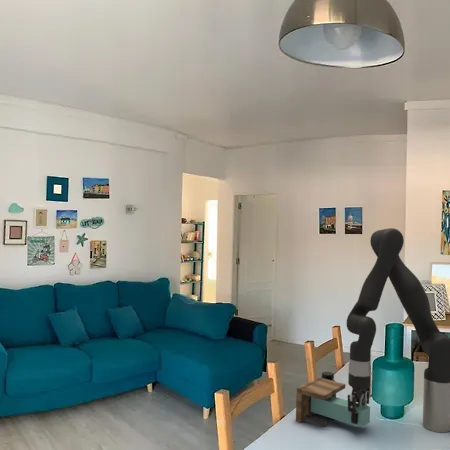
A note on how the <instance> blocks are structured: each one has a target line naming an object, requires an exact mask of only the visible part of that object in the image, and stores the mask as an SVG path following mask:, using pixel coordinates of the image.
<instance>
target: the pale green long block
mask: <svg viewBox="0 0 450 450" xmlns="http://www.w3.org/2000/svg"><path fill="white" fill-rule="evenodd" d="M356 403H357V404H358V402H356ZM356 407H357V406H356ZM311 412H313V413H316V414H317V415H320V416H323V417H326V418H330V419H333V420H336V421H340V422H343V423H346V424H350V425H353V426H356V427H359V428H364V427H365V426H367V425H368V424H369V423H370V422H371V406H368V405H367V406H366V405H362V404H361V407H359V411H358V423H357V424H354V423H352V422H351V412H349V411H348V399H344V398H340V397H337V396H336V397H333V396H331V397H329V398H327V399H325V400H322V399H318V398H315V397H311ZM316 414H315V415H316Z"/></svg>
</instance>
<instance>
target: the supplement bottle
mask: <svg viewBox="0 0 450 450" xmlns="http://www.w3.org/2000/svg"><path fill="white" fill-rule="evenodd" d="M321 378H323V379H327V380H331V381H335V382H337V381H336V380H335V373H334V372H331V371H322V372H321ZM332 396H333V397H337V393H336V394H334V395H332Z"/></svg>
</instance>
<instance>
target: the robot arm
mask: <svg viewBox="0 0 450 450" xmlns="http://www.w3.org/2000/svg"><path fill="white" fill-rule="evenodd" d="M404 241H405V240H404V236H403V234H402V232H401V231H400V230H399V229H396V228H392V227H391V228H390V227H389V228H384V229H379V230H376V231H374V232H373V233H371V236H370V241H369V242H370V246H371V250H373V252H374V254H375V255H376V261H375V262H374V265H373V267H372V269H371V270H370V271H369V273H368V275H367V277H366V278H365V280H364V282H363V284H362V286H361V289H360V293H359V296H358V300H357V301H356V303H355V304H354V306H353V307H352V309H351V311H350V312H349V313H348V316H347V317H346V318H347V319H346V324H345V325H346V328H347V330H348V332H349V333H352V334H353V335H354V334H355V335H358V339H357V340H354V341H352V342H351V343H350V346H349V361H348V377H347V378H348V381H347V383H348V385H349V386H350V387H351V388H352V389H351V393H350V394H347V400H348V411H349V412H351V422H352V423H354V424H357V423H358V411H359V407H361V404H362V405H366V406H368V405H369V404H370V397H371V395H370V386H371V372H372V364H371V363H372V361H371V355H372V353H371V352H372V351H371V350H372V346H373V344H374V343H373V342H374V339H375V336H376V333H377V324H376V322H375V320H374V319H373V318H372V317H370V316H368V313H370V312H374V311H376V310H377V309H378V307H379V305H380V301H381V298H382V295H383V291H384V288H385V285H386V282H387V280H388V279H389V280H390V283H391V285H392V287H393V288H394V291H395V293H396V295H397V298H398V299H399V301H400V303H401V305H402V307H403V309H404V311H405V313H406V314H407V316H408V318H409V320H410V321H411V323H412V325H413V327H414V330H415V331H416V334H417V337H418V338H417V339H418V340H419V343H420V345H421V348H422V351H423V352H424V353H425V354H426V356H428V362H427V364H428V366H427V368H425V369H424V371H423V401H422V405H423V406H422V427H424V428H425V429H427V430H429V431H432V432H437V433H448V432H450V338H449V337H447V336H445V335H443V333H442V332H441V331H440V329H439V328H438V326H437V325H436V324H437V323H435V320H434V318H433V316H432V312H431V305H430V300H429V297H428V295H427V293H426V291H425V289H424V287H423V284H422V283H421V281H420V280H419V278H418V277H417V276H416V275H415V273H413V272H412V271H411V270H410V269H409V268H408V267H407V266H406V264H405V263H404V262H403V261H402V259H401V257H400V255H399V254H400V253H401V251H402V249H403V247H404ZM357 403H358V404H357ZM356 406H357V407H356Z"/></svg>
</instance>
